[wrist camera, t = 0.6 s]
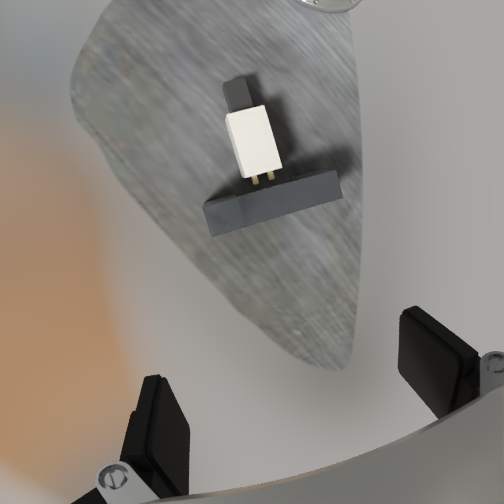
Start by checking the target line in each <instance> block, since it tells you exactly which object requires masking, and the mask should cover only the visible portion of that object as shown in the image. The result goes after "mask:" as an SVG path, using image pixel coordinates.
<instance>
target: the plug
mask: <svg viewBox="0 0 504 504" xmlns="http://www.w3.org/2000/svg"><path fill="white" fill-rule="evenodd" d="M223 91H224V95H225V98H226V101H227V104H228V108H229V111H230V114H227V115H226V119H225V122H226V125H227V129H228V132H229V135H230V139H231V142H232V145H233V149H234V152H235V155H236V159H237V162H238V166H239V169H240V172H241V176H242V178H248V177H251V178H252V181H253V184H254V185H255V184H258V183H259V181H258V178H257V175H258V174H262V173H265V172H267V175H268V179H269V180H272V179H275V177H274V174H273V170H276V169H280V168H282V164H281V161H280V157H279V154H278V150H277V147H276V143H275V140H274V137H273V133H272V130H271V126H270V123H269V120H268V116H267V113H266V110H265V107H264V105H262V106H258V107H254V106H253V103H252V100H251V96H250V93H249V90H248V87H247V84H246V80H245V77H243V78H239V79H235V80H231V81H227V82H223Z"/></svg>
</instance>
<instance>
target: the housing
mask: <svg viewBox="0 0 504 504" xmlns="http://www.w3.org/2000/svg"><path fill="white" fill-rule="evenodd" d="M341 198H343V196H342V192H341V187H340V183H339V179H338V175H337V171H336V170H315V171H311V172H307V173H304V174H300V175H296V176H293V177H291V181H289V182H286V183H282V184H279V185H275V186H271V187H268V188H265V189H261V190H258V191H254V192H251V193H247V194H244V195H241V196H237V197H236V196H235V195H234V194H230V195H227V196H224V197H220V198H217V199H214V200H211V201H208V202H205V203H204V205H203V211H204V214H205V218H206V221H207V224H208V227H209V230H210V233H211V236H212V237H215V236H218V235H221V234H224V233H227V232H231V231H234V230H237V229H240V228H244V227H247V226H250V225H253V224H257V223H260V222H263V221H266V220H270V219H273V218H276V217H280V216H283V215H286V214H290V213H293V212H296V211H300V210H303V209H306V208H310V207H313V206H317V205H320V204H324V203H327V202H330V201H334V200H337V199H341Z"/></svg>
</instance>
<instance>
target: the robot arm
mask: <svg viewBox="0 0 504 504" xmlns="http://www.w3.org/2000/svg"><path fill="white" fill-rule="evenodd" d="M296 1H298V2H299V3H301V4H303V5H305V6H307V7H310V8H313V9H315V10H319V11H323V12H331V13H338V12H345V11H348V10H350V9H353V8H354V7H355V6H356V5H357V4H358V3H359V2H360V1H361V0H296ZM398 354H399V355H398V370H399V373H400V374H401V375H402V377H403V378H404V379H405V380H406V381H407V382H408V383H409V385H410V386H411V387H412V388H413V389H414V391H415V392H416V393H417V394H418V395H419V396H420V398H421V399H422V400H423V401H424V402H425V404H426V405H427V406H428V407H429V408H430V409H431V411H432V412H433V413H434V414H435V416H436V417H437V418H438V419H439V420H437V421H435V422H433V423H431V424H429V425H427V426H425V427H423V428H421V429H419V430H417V431H415V432H413V433H411V434H409V435H407V436H405V437H403V438H401V439H398V440H396V441H394V442H391V443H389V444H387V445H384V446H382V447H379V448H377V449H374V450H372V451H369V452H367V453H364V454H362V455H359V456H356V457H354V458H351V459H348V460H345V461H342V462H339V463H336V464H333V465H330V466H327V467H324V468H321V469H317V470H314V471H310V472H307V473H303V474H300V475H296V476H292V477H288V478H284V479H280V480H276V481H272V482H267V483H262V484H257V485H252V486H247V487H241V488H235V489H229V490H223V491H216V492H209V493H201V494H192V495H189V451H190V428H189V424H188V422H187V420H186V418H185V417H184V414H183V412H182V410H181V408H180V406H179V404H178V402H177V400H176V398H175V396H174V394H173V392H172V389H171V387H170V385H169V383H168V381H167V379H166V378H165V377H163V378H162V377H161V376H160V375H159V374H158V375H151V376H146V377H145V378H144V381H143V385H142V388H141V392H140V396H139V400H138V404H137V408H136V411H133V412H132V413H131V415H130V419H129V423H128V427H127V431H126V435H125V439H124V443H123V447H122V451H121V456H120V460H119V461H112V462H109V463H106V464H104V465H103V466H102V467H100V468H99V470H98V471H97V472H96V475H95V485H96V488H94V489H93V490H91V491H90V492H88V493H87V494H85V495H84V496H82V497H81V498H79V499H78V500H76V501H75V502H73V503H71V504H504V353H503V352H499V351H493V352H489V353H486V354H485V355H484V356H482V358H481V357H479V356H478V352H477V351H476V350H474V349H473V348H472V347H471V346H469V345H468V344H467V343H466V342H464V341H463V340H462V339H461V338H459V337H458V336H457V335H455V334H454V333H453V332H451V331H450V330H449V329H448V328H446V327H445V326H444V325H442V324H441V323H439V322H438V321H437V320H435V319H434V318H433V317H432V316H430V315H429V314H428V313H426V312H425V311H424V310H422V309H421V308H420V307H418V306H413V307H410V308H407V309H405V310H404V311H403V312H402V314H401V315H400V322H399V353H398Z"/></svg>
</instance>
